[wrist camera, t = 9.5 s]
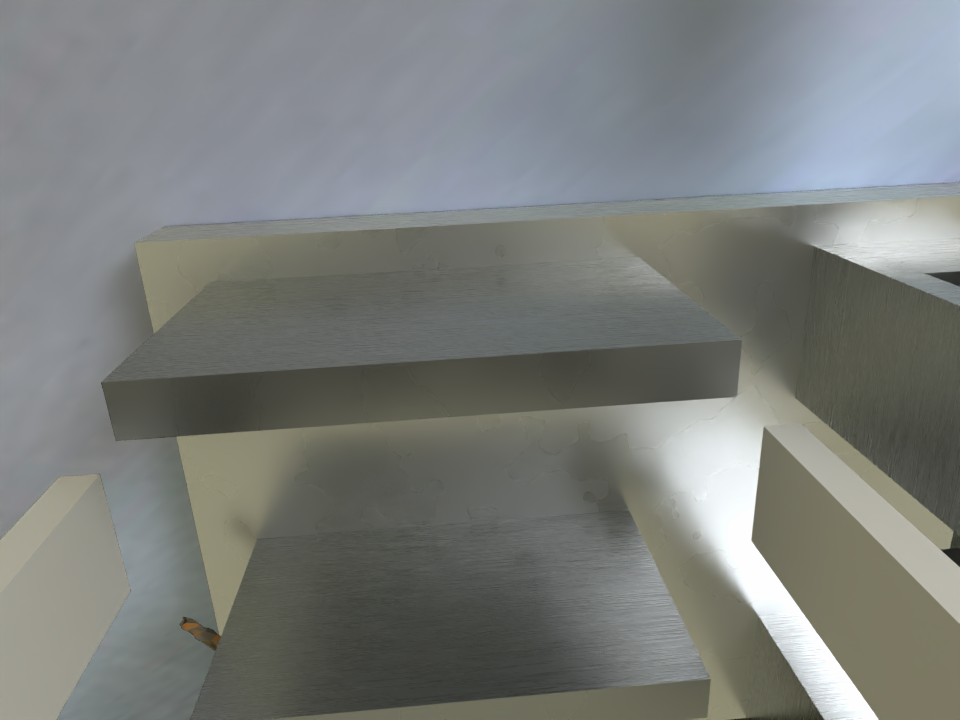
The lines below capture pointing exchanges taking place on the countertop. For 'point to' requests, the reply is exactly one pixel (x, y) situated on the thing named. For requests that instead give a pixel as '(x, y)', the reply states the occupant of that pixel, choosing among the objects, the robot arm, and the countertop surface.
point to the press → (539, 444)
